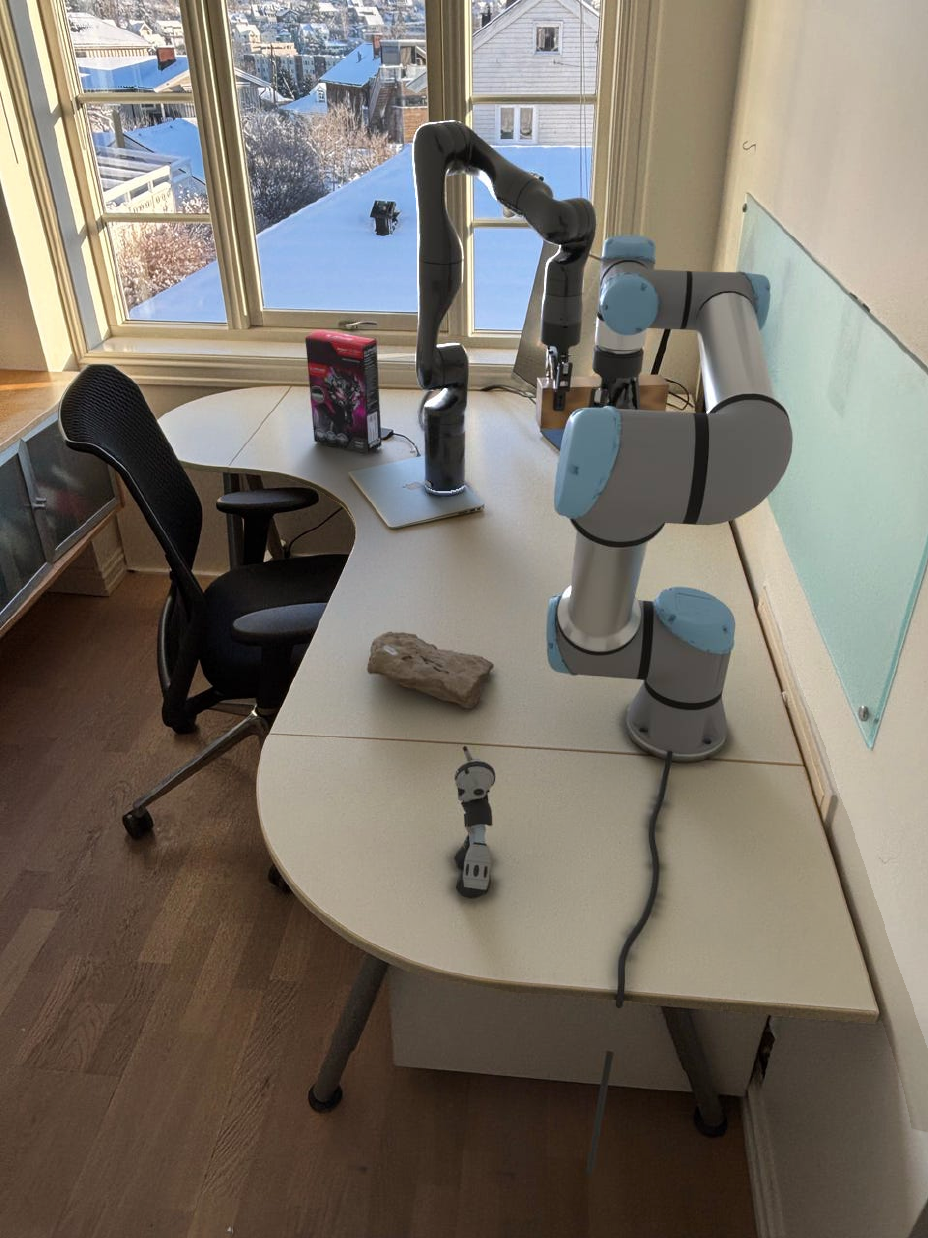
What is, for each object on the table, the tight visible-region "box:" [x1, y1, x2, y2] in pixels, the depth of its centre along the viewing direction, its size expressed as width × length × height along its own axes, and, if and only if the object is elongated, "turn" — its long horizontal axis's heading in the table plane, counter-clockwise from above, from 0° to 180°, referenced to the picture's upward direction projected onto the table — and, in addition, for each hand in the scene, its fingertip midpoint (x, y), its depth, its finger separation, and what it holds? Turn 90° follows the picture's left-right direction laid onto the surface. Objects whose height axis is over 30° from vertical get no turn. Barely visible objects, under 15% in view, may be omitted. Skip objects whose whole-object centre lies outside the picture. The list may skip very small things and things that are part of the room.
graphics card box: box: [304, 329, 382, 454], centre depth 226 cm, size 17×7×27 cm, turn 62°
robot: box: [453, 745, 496, 899], centre depth 114 cm, size 20×5×20 cm, turn 3°
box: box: [534, 374, 670, 431], centre depth 180 cm, size 25×6×8 cm, turn 96°
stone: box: [366, 631, 495, 710], centre depth 151 cm, size 21×15×6 cm
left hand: (555, 403), depth 179 cm, fingers closed on box, 5 cm apart
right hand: (605, 475), depth 151 cm, fingers open, 13 cm apart
